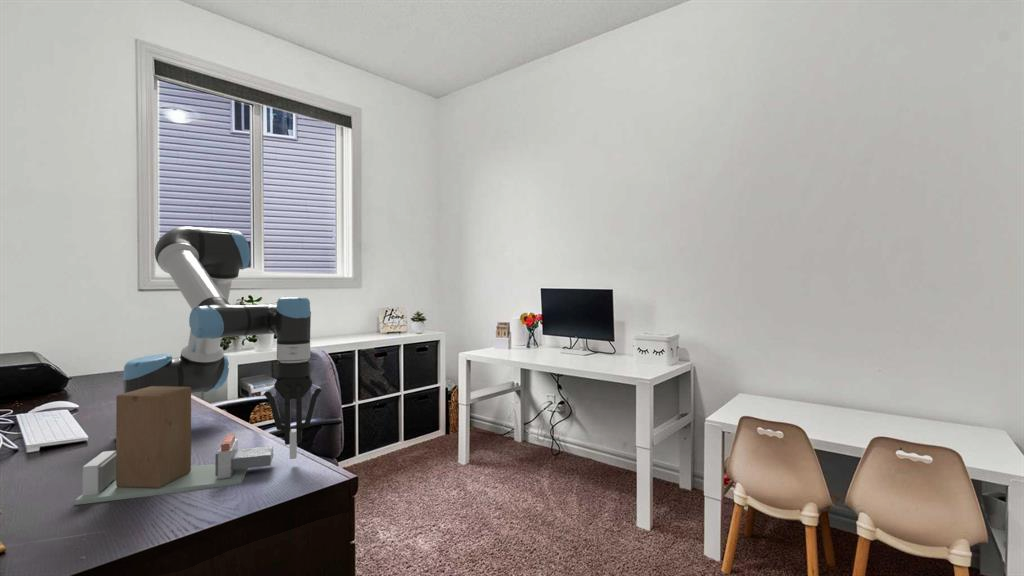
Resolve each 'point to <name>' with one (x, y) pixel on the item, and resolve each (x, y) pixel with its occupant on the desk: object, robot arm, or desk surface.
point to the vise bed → (103, 488)
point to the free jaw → (239, 457)
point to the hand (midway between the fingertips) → (293, 456)
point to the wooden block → (153, 436)
